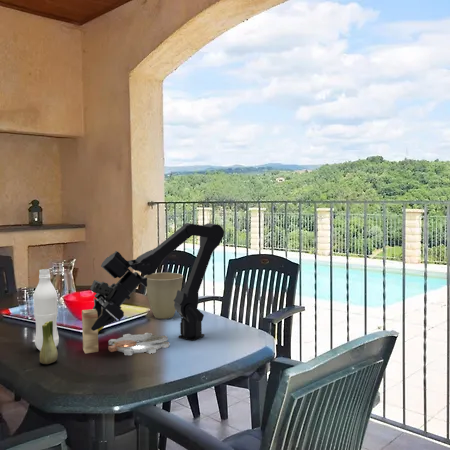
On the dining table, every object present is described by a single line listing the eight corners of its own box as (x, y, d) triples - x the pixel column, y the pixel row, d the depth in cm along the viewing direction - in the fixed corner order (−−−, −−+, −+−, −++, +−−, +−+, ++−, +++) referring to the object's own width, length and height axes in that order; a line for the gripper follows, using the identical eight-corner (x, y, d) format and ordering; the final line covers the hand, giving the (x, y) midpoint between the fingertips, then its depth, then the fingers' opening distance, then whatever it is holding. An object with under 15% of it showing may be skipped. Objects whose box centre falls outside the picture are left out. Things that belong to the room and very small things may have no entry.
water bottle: (63, 346, 167) (61, 268, 164) (49, 353, 160) (46, 272, 158) (45, 344, 169) (42, 267, 167) (29, 351, 162) (27, 271, 160)
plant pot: (136, 318, 200) (135, 277, 199) (161, 310, 213) (160, 271, 212) (167, 323, 193) (167, 280, 191) (191, 314, 205) (190, 274, 204)
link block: (96, 347, 165) (95, 308, 164) (98, 351, 161) (97, 311, 160) (82, 349, 163) (81, 310, 162) (85, 353, 160) (83, 313, 159)
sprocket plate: (180, 342, 170) (180, 338, 170) (141, 358, 154) (141, 354, 154) (137, 333, 181) (136, 329, 180) (95, 348, 165) (95, 343, 165)
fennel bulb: (51, 358, 155) (49, 318, 154) (62, 361, 153) (61, 320, 152) (35, 364, 150) (33, 323, 149) (47, 367, 148) (45, 325, 147)
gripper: (100, 266, 171) (66, 303, 167) (112, 276, 154) (74, 316, 150) (124, 288, 175) (91, 324, 171) (139, 300, 158) (102, 340, 154)
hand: (89, 326), depth 162 cm, fingers open, 9 cm apart
